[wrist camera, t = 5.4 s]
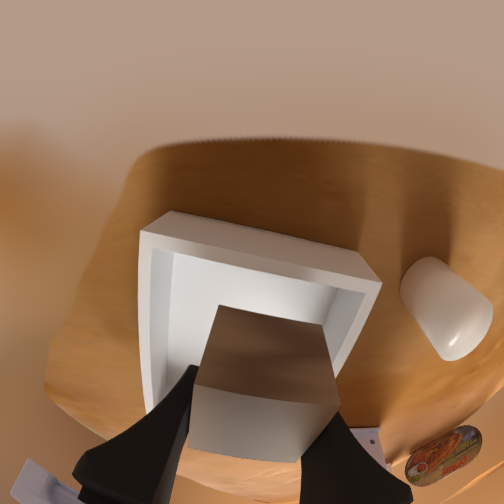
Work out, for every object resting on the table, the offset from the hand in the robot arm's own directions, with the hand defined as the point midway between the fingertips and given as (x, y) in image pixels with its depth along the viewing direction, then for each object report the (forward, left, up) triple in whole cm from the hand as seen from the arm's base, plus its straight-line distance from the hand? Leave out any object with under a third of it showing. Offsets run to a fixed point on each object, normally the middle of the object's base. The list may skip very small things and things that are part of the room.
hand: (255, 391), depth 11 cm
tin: (-38, +24, -10) cm, 46 cm away
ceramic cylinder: (-13, -4, -10) cm, 17 cm away
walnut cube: (0, 0, -2) cm, 2 cm away
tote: (+1, +4, -10) cm, 10 cm away
